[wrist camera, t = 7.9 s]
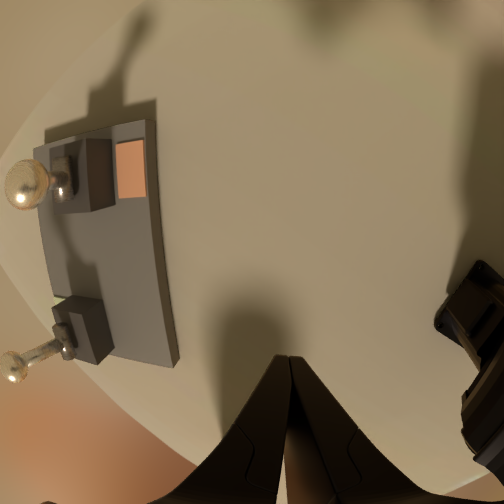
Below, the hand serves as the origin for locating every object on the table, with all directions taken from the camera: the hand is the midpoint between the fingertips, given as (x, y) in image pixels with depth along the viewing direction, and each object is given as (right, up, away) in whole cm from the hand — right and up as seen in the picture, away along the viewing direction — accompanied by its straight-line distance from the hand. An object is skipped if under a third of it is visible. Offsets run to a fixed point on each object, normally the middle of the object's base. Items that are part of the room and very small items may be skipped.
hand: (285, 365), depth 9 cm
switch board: (-14, +4, +15) cm, 21 cm away
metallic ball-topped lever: (-16, -4, +13) cm, 21 cm away
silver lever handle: (-14, +9, +9) cm, 19 cm away
